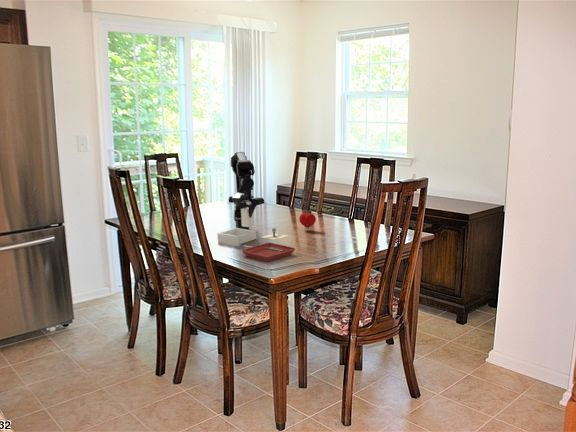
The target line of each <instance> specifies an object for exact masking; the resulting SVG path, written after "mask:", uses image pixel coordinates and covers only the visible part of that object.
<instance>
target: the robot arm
mask: <svg viewBox="0 0 576 432" xmlns="http://www.w3.org/2000/svg"><path fill="white" fill-rule="evenodd" d="M254 166H255V165H254V163H253V162H252V161H251V160H250V159H247V156H246V154H245V152H243V151H237V152H235V153H234V155H232V156H231V157H230V167H231V169H232V172H233V174H234V175H235V186H236V193H235V194H233V195H230V196H229V197H228V202H229V203H232V204H234V205H235V206H234V210H233V220H234V222H235V228H240V229H247V230H252V229H250V227H243V226H242V222H241V209H242V208H245V207H248V208H249V218H251V217H252V215H254V212H255V209H256V208H257V206H261V205H264V204H265V199H264V197H254V195H253V192H252V191H253V190H254V185H255V181H254V180H253V178H252V176H254V175H255V173H256V172H255V167H254ZM248 203H249V204H248Z"/></svg>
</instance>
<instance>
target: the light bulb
mask: <svg viewBox="0 0 576 432" xmlns="http://www.w3.org/2000/svg"><path fill="white" fill-rule="evenodd" d="M298 219H299V223H300V224H301V225H302V226H304V228H305V231H306V232H307V231H311V227H312V226H313V225H314V224H315V223H316V221H317V218H316V216H315V215H314V214H313V213H307V212H303V213H301V214H300V215H299V218H298Z"/></svg>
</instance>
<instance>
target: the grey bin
mask: <svg viewBox="0 0 576 432" xmlns="http://www.w3.org/2000/svg"><path fill="white" fill-rule="evenodd" d="M216 234H217V235H216V236H217V244H221V245H228V246H232V247H240V246H241V247H242V246H244V243H247V242H250V241H253V240H256V239H257V231H256V230H253V229H251V230H247V229H240V228H236V227H233V228H229V229H227V230H224V231H220V232H218V233H216Z"/></svg>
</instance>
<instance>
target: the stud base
mask: <svg viewBox="0 0 576 432" xmlns="http://www.w3.org/2000/svg"><path fill="white" fill-rule="evenodd" d="M271 230H272V231H271V232H272V233H269V234H266V235H263V236H261V237H260V238H262V239H269V240H274V241H277V240H280V239H282V238H286V237H287V236H289V235H288V234H287V235H286V234H280V233H276V231H277V229H276V228H275V227H273V228H272V229H271Z"/></svg>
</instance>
